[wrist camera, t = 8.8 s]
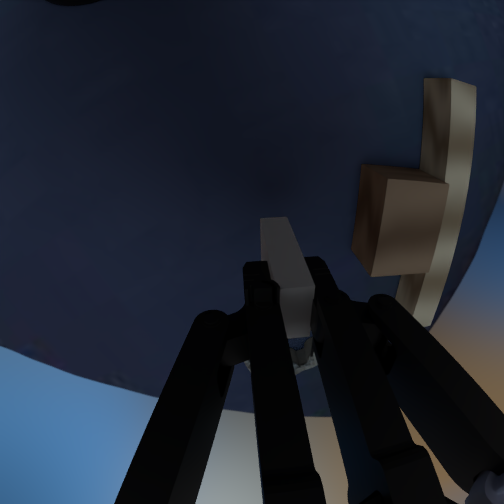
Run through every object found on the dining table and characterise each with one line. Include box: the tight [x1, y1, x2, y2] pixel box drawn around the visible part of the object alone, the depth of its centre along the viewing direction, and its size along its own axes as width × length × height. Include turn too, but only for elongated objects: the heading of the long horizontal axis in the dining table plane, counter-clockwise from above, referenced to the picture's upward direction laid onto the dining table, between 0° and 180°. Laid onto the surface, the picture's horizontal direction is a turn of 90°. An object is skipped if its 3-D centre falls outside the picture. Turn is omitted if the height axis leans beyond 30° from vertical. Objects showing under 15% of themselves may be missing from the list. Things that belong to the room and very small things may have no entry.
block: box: [351, 164, 450, 277], centre depth 24 cm, size 8×6×5 cm
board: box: [395, 78, 476, 327], centre depth 24 cm, size 24×3×4 cm, turn 2°
